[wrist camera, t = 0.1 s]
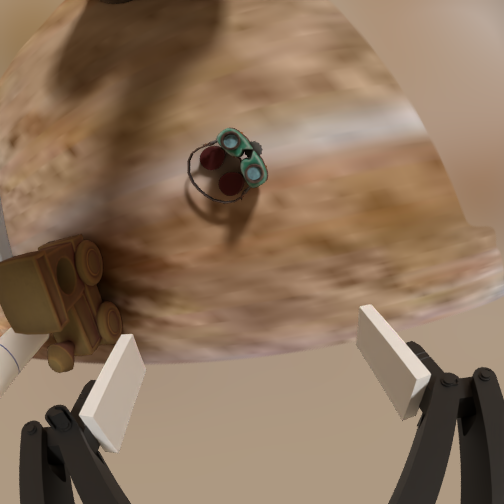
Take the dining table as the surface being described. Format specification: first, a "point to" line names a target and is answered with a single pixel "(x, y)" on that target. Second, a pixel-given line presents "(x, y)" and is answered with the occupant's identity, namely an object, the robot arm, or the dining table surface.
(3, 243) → the grey notched frame
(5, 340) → the cylindrical container
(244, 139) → the binoculars
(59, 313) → the wooden toy train
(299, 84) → the dining table surface
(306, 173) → the dining table surface
